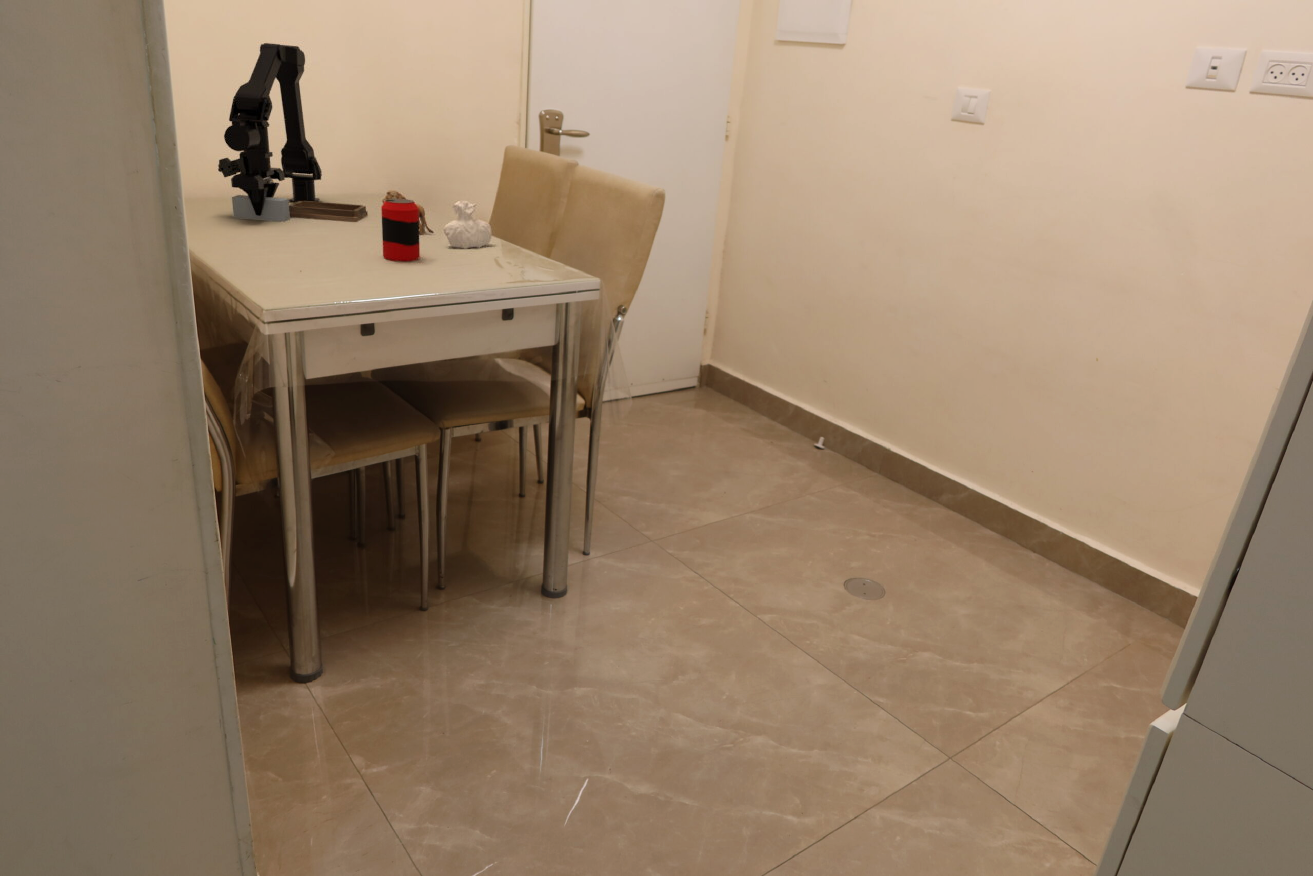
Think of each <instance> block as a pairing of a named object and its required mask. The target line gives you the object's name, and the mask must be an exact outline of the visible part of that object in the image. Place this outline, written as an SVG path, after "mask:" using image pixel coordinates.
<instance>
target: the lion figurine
mask: <svg viewBox="0 0 1313 876" xmlns="http://www.w3.org/2000/svg"><path fill="white" fill-rule="evenodd" d="M387 199H407V198H406V197H405V196H404V195H403V194H401V193H399V192H398V191H395V190H388V191H386V195H385V197H384V198H383V199H382V200H381V201H382V205H383V204H384V203H385V201H386V200H387ZM415 204H416V205H417V207H418V208H419V235H423V234H424V232H425V231H426V230H427V232H429V233H430V234H434V231H433V230H432V229H430V228H429V227H428V224H427V221H426V217H425V215H426V212H425V208H424V207H423V206H422V205H420V204H418V203H415Z"/></svg>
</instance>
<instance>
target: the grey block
mask: <svg viewBox="0 0 1313 876" xmlns="http://www.w3.org/2000/svg"><path fill="white" fill-rule="evenodd" d="M289 200H290V199H289V198H283V197H266V198H265V202H264V206H263V210H262V214H261V216H257V215H256V214H255V211H254V209H253V206H252V204H251V201H250V199H249V197H248V195H243V194H237V195H234V196H231V202H232V212H233V218H234V219H240V220H241V219H242V220H243V219H244V220H255V221H257V220H258V221H268V222H269V221H272V222H281V221H283V222H287V221H288V220H290V219H291V217H290V213H289V205H290V204H289Z"/></svg>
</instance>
